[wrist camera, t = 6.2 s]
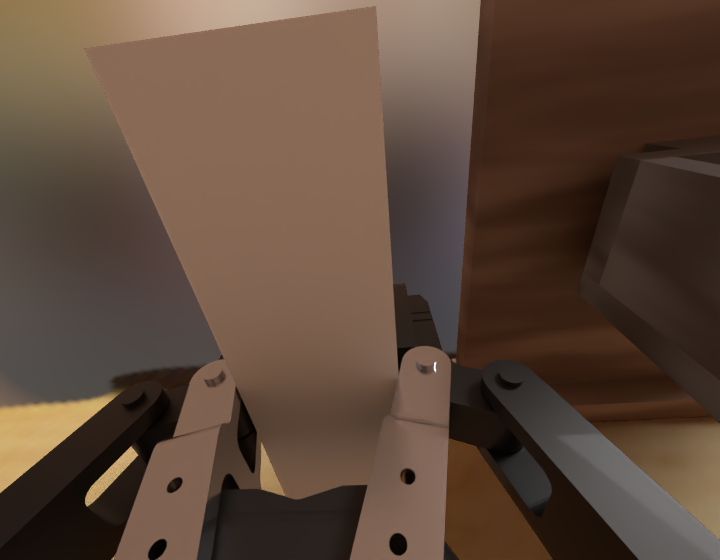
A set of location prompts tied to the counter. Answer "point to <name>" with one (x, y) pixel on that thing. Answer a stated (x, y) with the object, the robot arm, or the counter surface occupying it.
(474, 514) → the counter surface
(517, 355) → the cup bracket
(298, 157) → the beige tall block
